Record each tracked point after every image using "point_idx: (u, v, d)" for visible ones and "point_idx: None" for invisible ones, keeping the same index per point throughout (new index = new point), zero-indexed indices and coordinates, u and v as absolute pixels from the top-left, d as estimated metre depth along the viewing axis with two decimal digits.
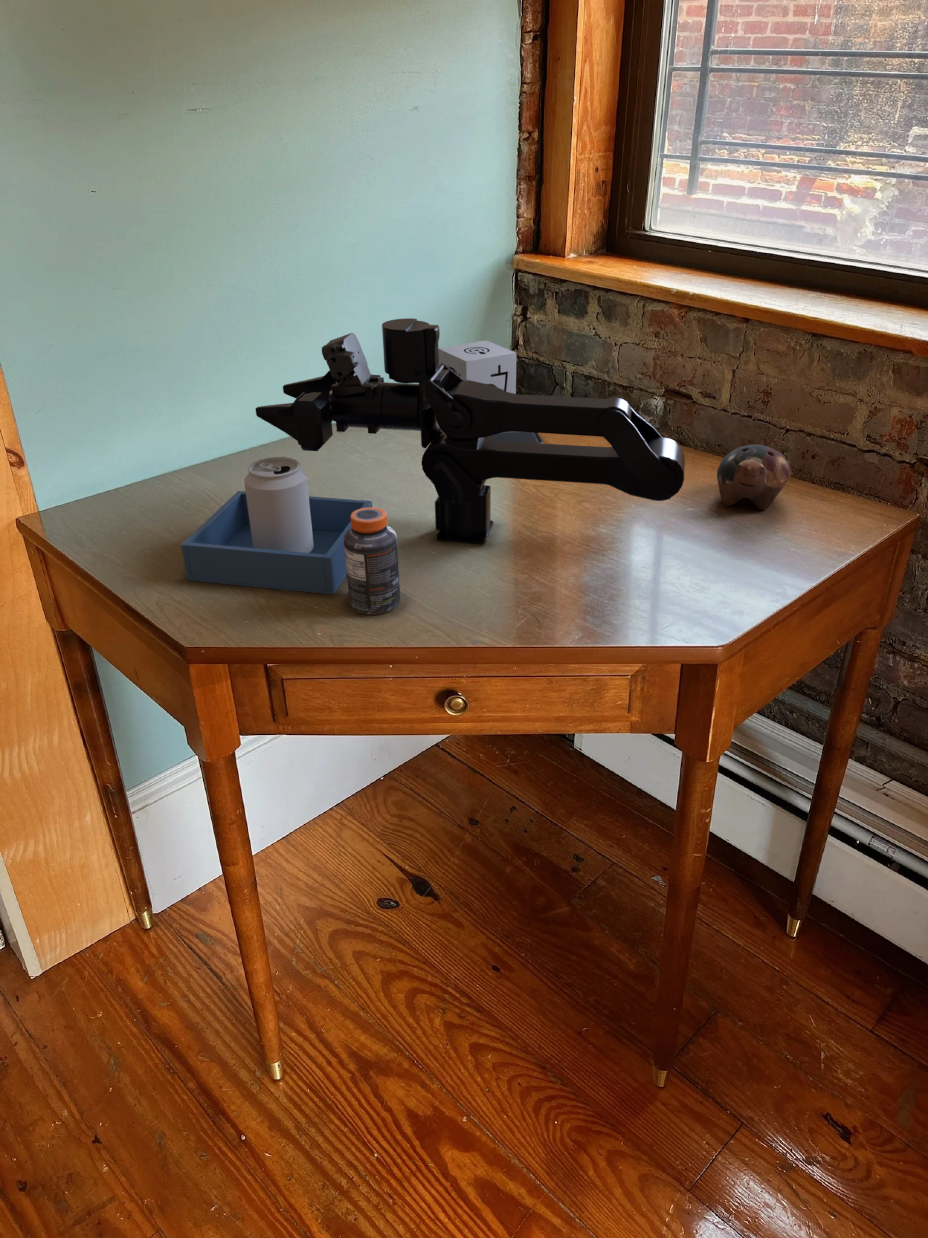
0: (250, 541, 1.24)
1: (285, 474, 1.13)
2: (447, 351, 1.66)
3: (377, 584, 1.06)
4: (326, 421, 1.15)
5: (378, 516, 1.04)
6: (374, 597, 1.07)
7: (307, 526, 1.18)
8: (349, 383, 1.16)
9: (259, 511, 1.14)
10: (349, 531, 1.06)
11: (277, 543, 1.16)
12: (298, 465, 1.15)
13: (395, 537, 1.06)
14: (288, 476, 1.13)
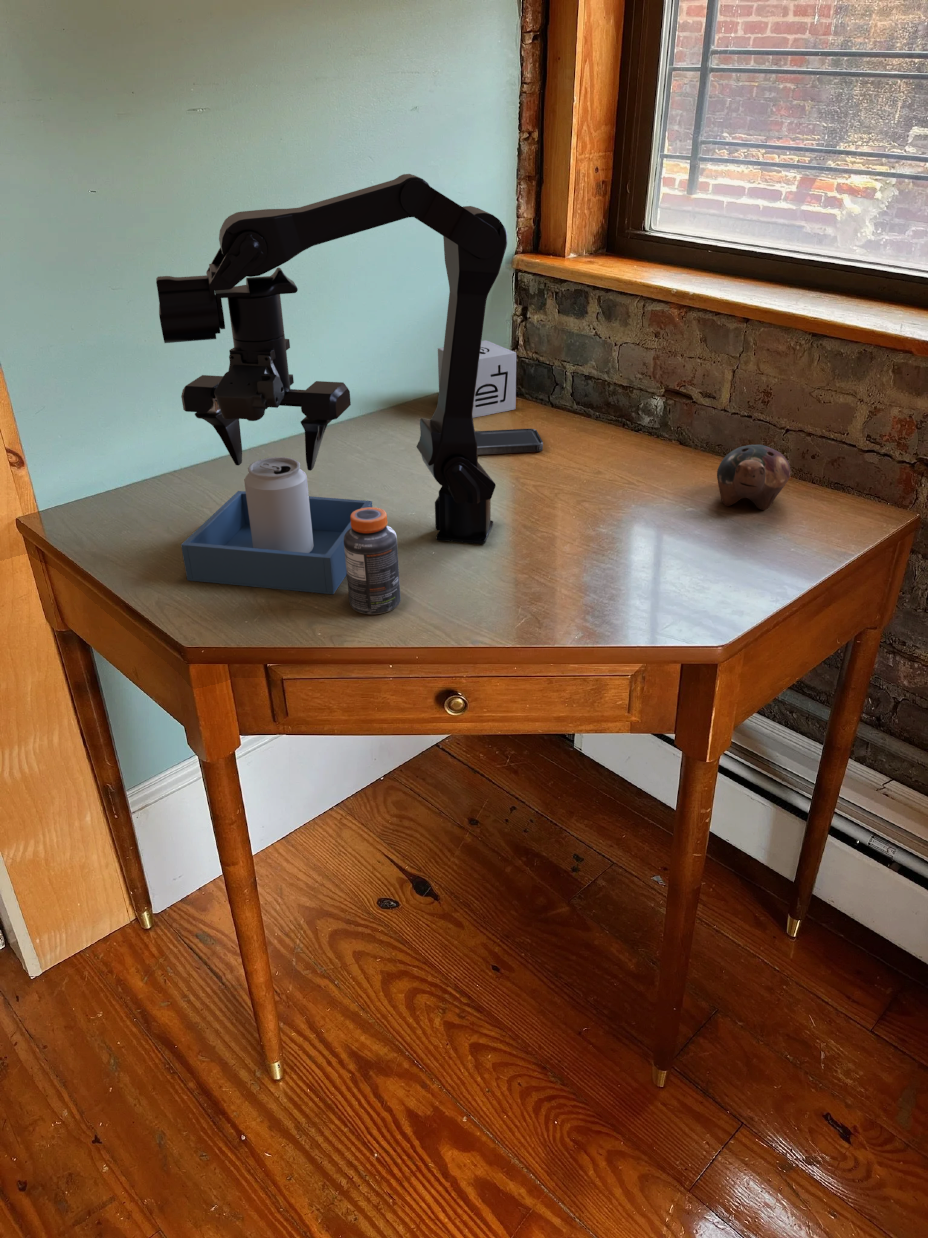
0: (250, 541, 1.24)
1: (285, 474, 1.13)
2: None
3: (377, 584, 1.06)
4: (323, 387, 1.08)
5: (378, 516, 1.04)
6: (374, 597, 1.07)
7: (307, 526, 1.18)
8: None
9: (259, 511, 1.14)
10: (349, 531, 1.06)
11: (277, 543, 1.16)
12: (298, 465, 1.15)
13: (395, 537, 1.06)
14: (288, 476, 1.13)
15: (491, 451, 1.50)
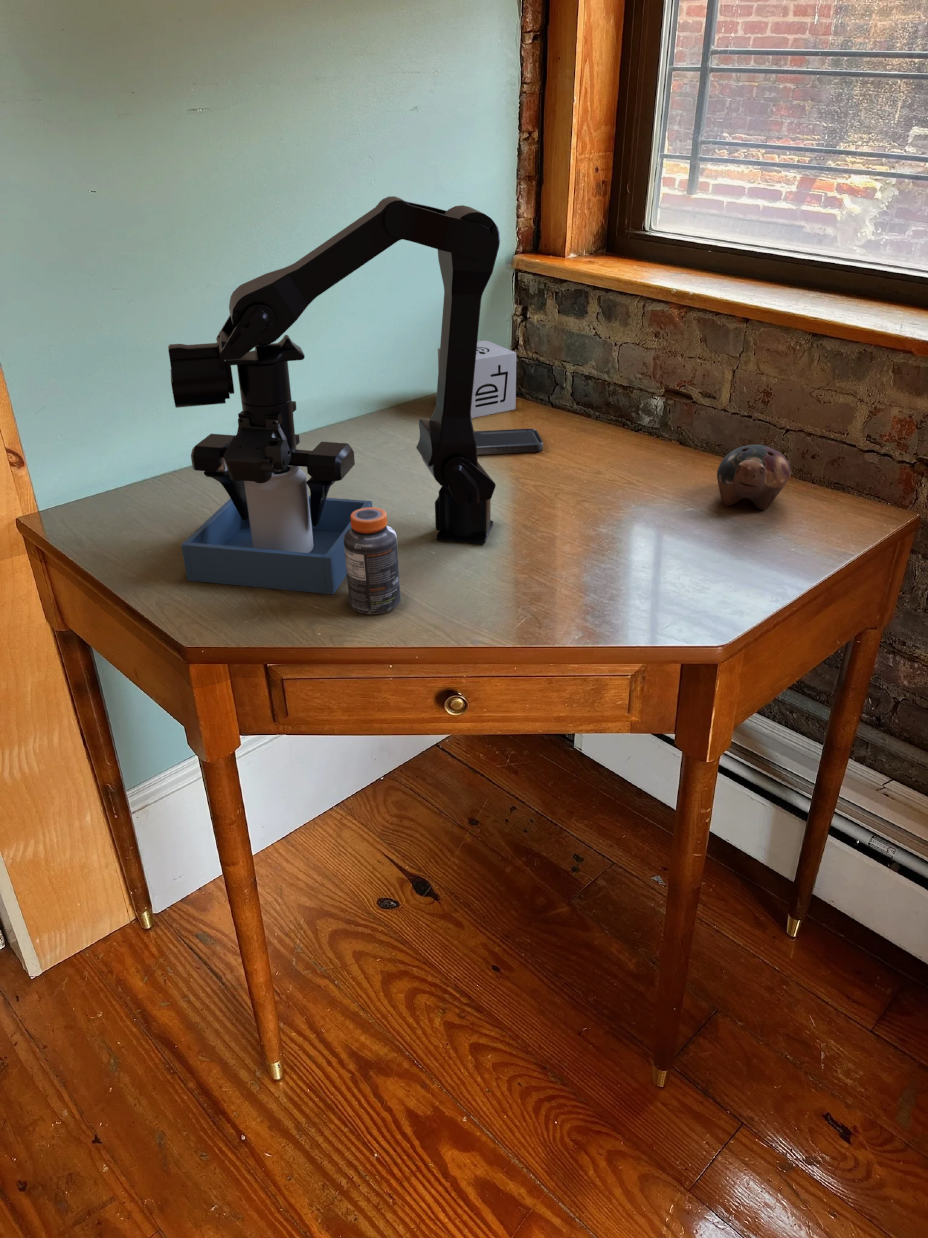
0: (250, 541, 1.24)
1: (285, 474, 1.13)
2: None
3: (377, 584, 1.06)
4: (328, 449, 1.12)
5: (378, 516, 1.04)
6: (374, 597, 1.07)
7: (307, 526, 1.18)
8: None
9: (259, 511, 1.14)
10: (349, 531, 1.06)
11: (277, 544, 1.16)
12: None
13: (395, 537, 1.06)
14: (288, 476, 1.13)
15: (491, 451, 1.50)
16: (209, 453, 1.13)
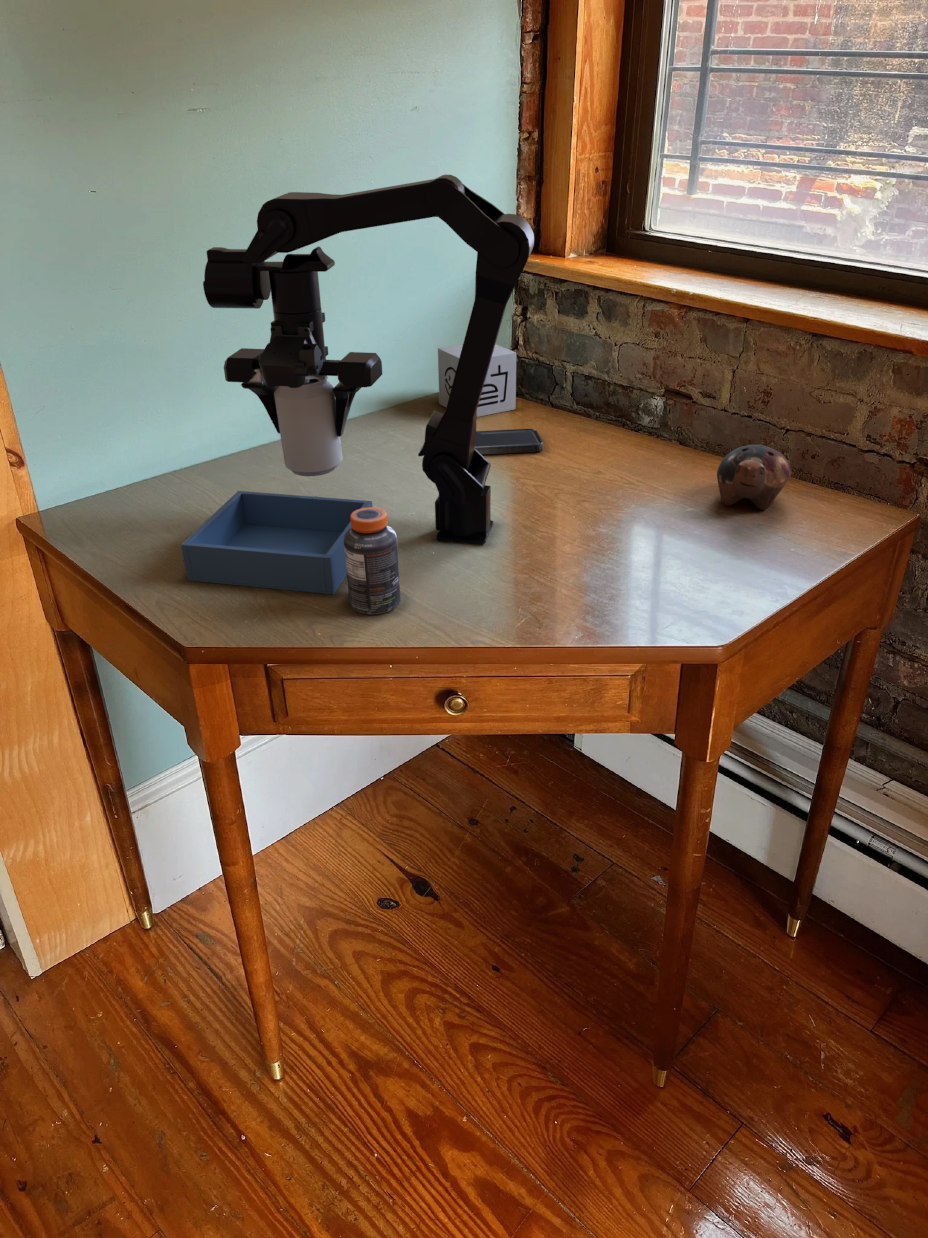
0: (250, 541, 1.24)
1: (314, 384, 1.17)
2: (447, 351, 1.66)
3: (377, 584, 1.06)
4: (358, 357, 1.16)
5: (378, 516, 1.04)
6: (374, 597, 1.07)
7: (336, 437, 1.21)
8: None
9: (290, 422, 1.18)
10: (349, 531, 1.06)
11: (309, 454, 1.20)
12: (326, 376, 1.19)
13: (395, 537, 1.06)
14: (317, 386, 1.17)
15: (491, 451, 1.50)
16: (242, 364, 1.16)
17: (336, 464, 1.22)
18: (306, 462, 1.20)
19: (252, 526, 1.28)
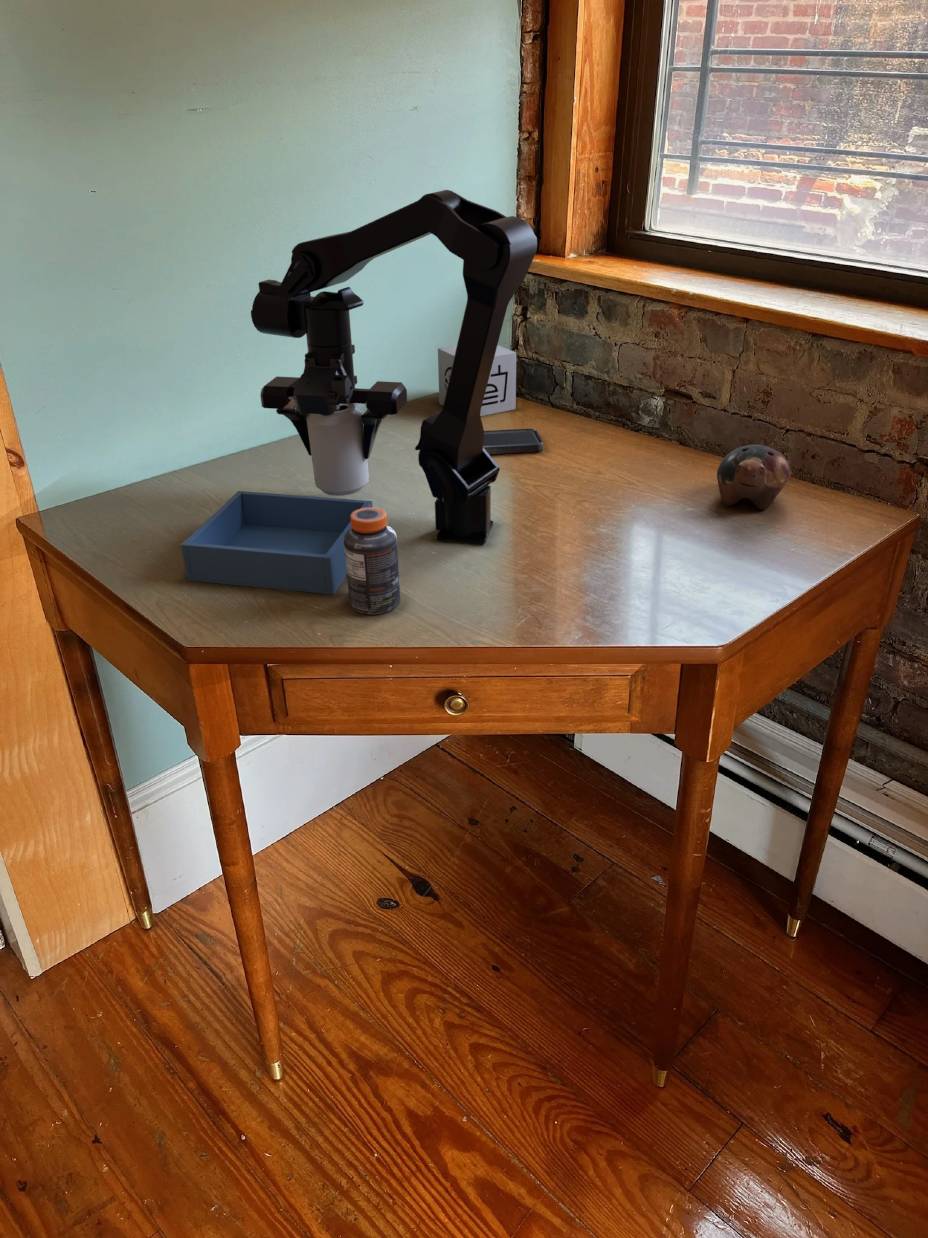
0: (250, 541, 1.24)
1: (344, 411, 1.25)
2: (447, 351, 1.66)
3: (377, 584, 1.06)
4: (385, 386, 1.25)
5: (378, 516, 1.04)
6: (374, 597, 1.07)
7: (364, 459, 1.30)
8: None
9: (321, 445, 1.27)
10: (349, 531, 1.06)
11: (338, 475, 1.29)
12: (354, 403, 1.28)
13: (395, 537, 1.06)
14: (347, 412, 1.26)
15: (491, 451, 1.50)
16: (277, 392, 1.25)
17: (363, 484, 1.31)
18: (335, 483, 1.29)
19: (252, 526, 1.28)
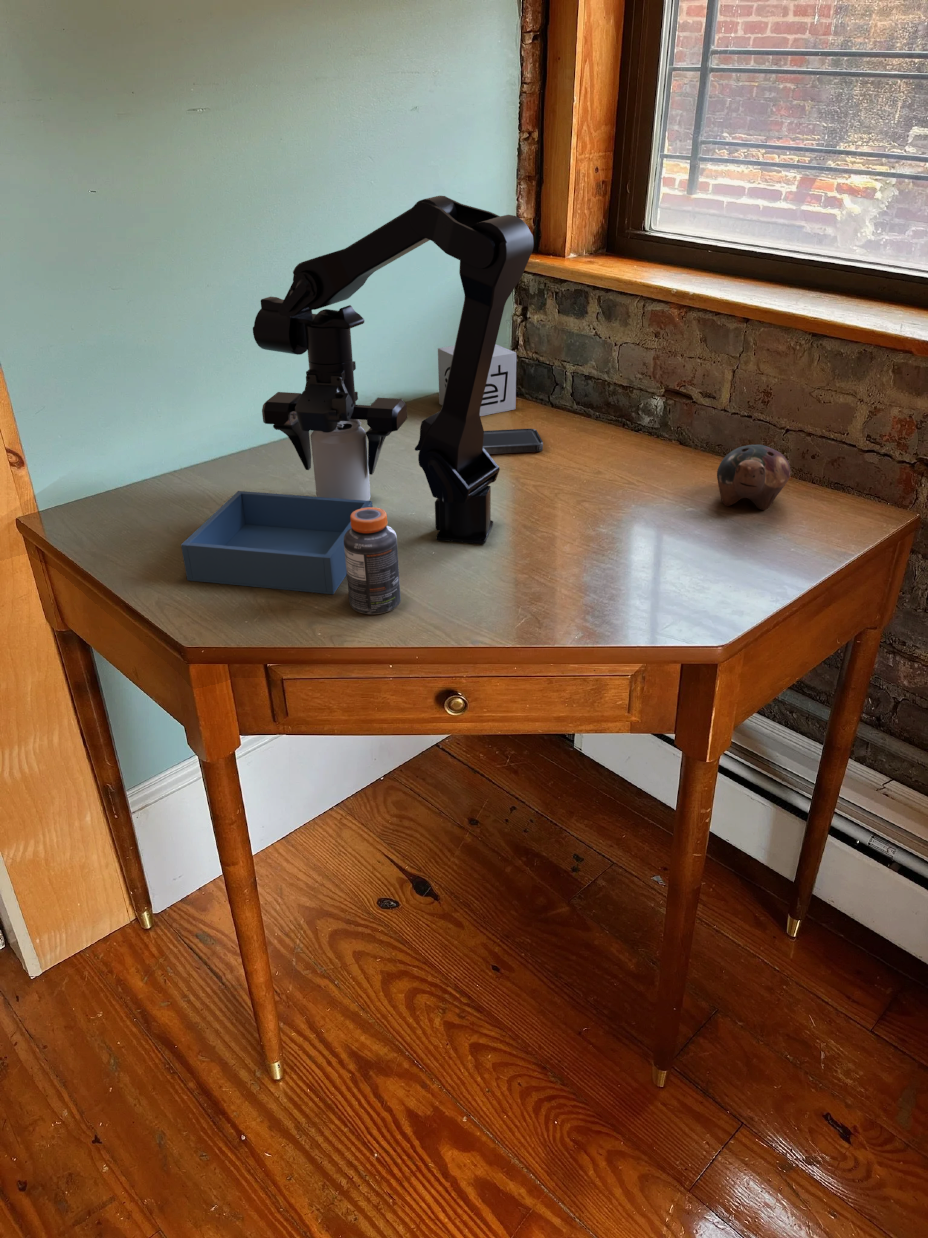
0: (250, 541, 1.24)
1: (348, 430, 1.27)
2: (447, 351, 1.66)
3: (377, 584, 1.06)
4: (385, 403, 1.26)
5: (378, 516, 1.04)
6: (374, 597, 1.07)
7: (366, 477, 1.32)
8: None
9: (325, 463, 1.28)
10: (349, 531, 1.06)
11: (340, 493, 1.30)
12: (359, 422, 1.29)
13: (395, 537, 1.06)
14: (351, 431, 1.27)
15: (491, 451, 1.50)
16: (279, 408, 1.27)
17: None
18: None
19: (252, 526, 1.28)
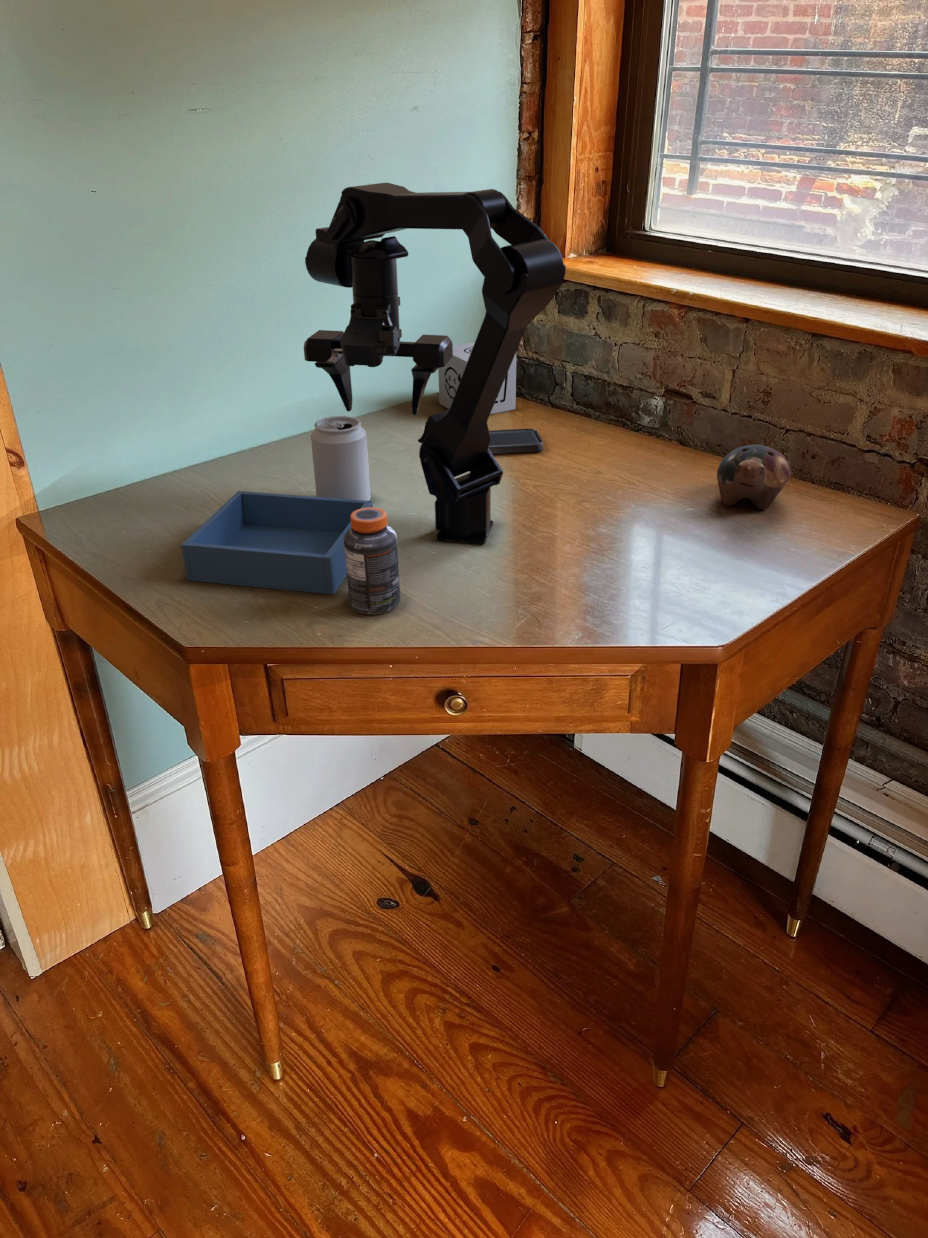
0: (250, 541, 1.24)
1: (348, 430, 1.27)
2: None
3: (377, 584, 1.06)
4: (431, 339, 1.22)
5: (378, 516, 1.04)
6: (374, 597, 1.07)
7: (366, 477, 1.32)
8: None
9: (325, 463, 1.28)
10: (349, 531, 1.06)
11: (340, 493, 1.30)
12: (359, 422, 1.29)
13: (395, 537, 1.06)
14: (351, 431, 1.27)
15: (491, 451, 1.50)
16: (321, 344, 1.23)
17: None
18: None
19: (252, 526, 1.28)
